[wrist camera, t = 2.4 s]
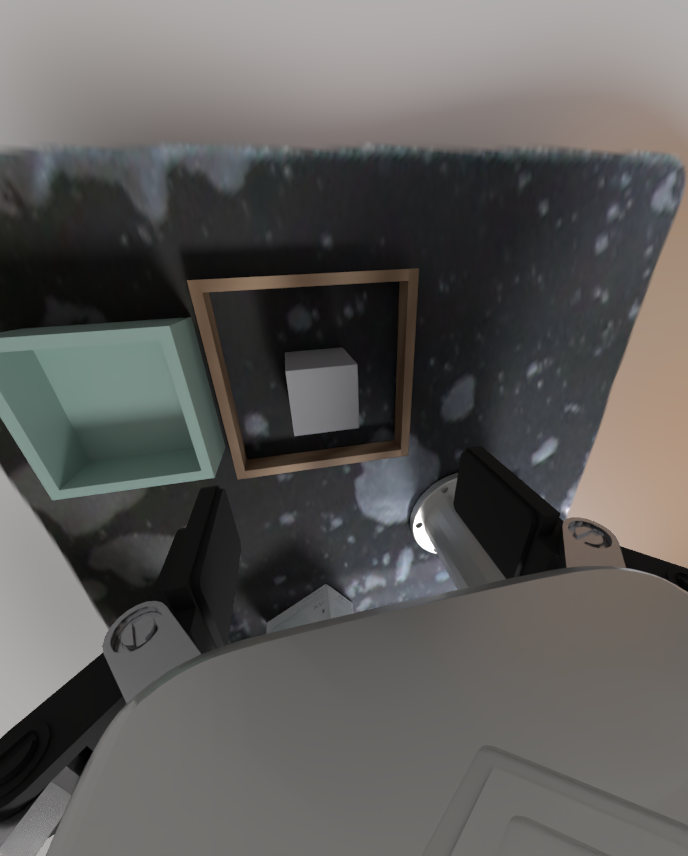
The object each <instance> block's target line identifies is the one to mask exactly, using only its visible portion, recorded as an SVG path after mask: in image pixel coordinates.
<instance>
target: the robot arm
mask: <svg viewBox="0 0 688 856" xmlns="http://www.w3.org/2000/svg"><path fill="white" fill-rule="evenodd" d="M559 516H560V513H559V512H558V511H557V510H556V509H554V508H553V507H552V506H551V505H550V504H549V503H547V502H546V501H545V500H544V499H543V498H542V497H540V496H539V495H538V494H537V493H536V492H534V491H533V490H532V489H531V488H530V487H529V486H527V485H526V484H525V483H524V482H523V481H522V480H520V479H519V478H518V477H517V476H516V475H514V474H513V473H512V472H511V471H510V470H509V469H507V468H506V467H505V466H504V465H503V464H502V463H500V462H499V461H498V460H497V459H496V458H494V457H493V456H492V455H491V454H490V453H489V452H487V451H486V450H485V449H484V448H482V447H472V448H467V449H465V451H464V452H463V453H462V454H461V458H460V465H459V471H458V473H455V474H452V475H449V476H447V477H445V478H443V479H441V480H439V481H438V482H436V483H435V484H433V485H432V486H431V487H430V488H428V489H427V490H426V491H425V492H424V493H423V494H422V496H421V497H420V498H419V499H418V501H417V502H416V504H415V506H414V508H413V510H412V513H411V517H410V529H411V532H412V534H413V537H414V538H415V540H416V542H417V544H419V545H420V546H421V547H422V548H423V549H425V550H427V551H428V552H431V553H435V554H438V556H439V558H440V560H441V561H442V563H443V565H444V567H445V569H446V570H447V572H448V574H449V576H450V578H451V579H452V581H453V583H454V585H455V586H456V588H457V590H455V591H451V592H446V593H442V594H437V595H433V596H428V597H424V598H419V599H415V600H410V601H406V602H401V603H397V604H392V605H388V606H384V607H379V608H375V609H370V610H366V611H362V612H357V613H353V614H349V615H344V616H340V617H336V618H331V619H327V620H323V621H318V622H314V623H310V624H305V625H301V626H297V627H293V628H289V629H285V630H281V631H276V632H272V633H268V634H264V635H260V636H256V637H252V638H248V639H245V640H242V641H238V642H235V643H232V644H228V639H229V632H230V624H231V617H232V610H233V603H234V595H235V588H236V581H237V574H238V567H239V559H240V552H241V543H240V539H239V535H238V532H237V528H236V525H235V521H234V518H233V515H232V511H231V508H230V504H229V501H228V497H227V494H226V491H225V489H220V488H219V486H212V487H205V488H201V489H200V491H199V494H198V497H197V500H196V502H195V505H194V508H193V511H192V513H191V516H190V519H189V521H188V524H187V527H186V528H182V529H179V530H178V531H177V533H176V535H175V537H174V540H173V543H172V545H171V548H170V550H169V553H168V555H167V558H166V560H165V563H164V565H163V568H162V570H161V573H160V575H159V578H158V580H157V583H156V585H155V588H154V590H153V593H152V595H151V598H150V600H149V601H148V602H144V603H141V604H139V605H136V606H134V607H133V608H131V609H129V610H128V611H126V612H125V613H124V614H123V615H122V616H120V617H119V618H118V619H117V620H116V621H115V623H114V624H113V625H112V626H111V627H110V629H109V631H108V632H107V634H106V636H105V639H104V643H103V653H102V654H101V655H100V656H98V657H97V658H96V659H95V660H94V661H92V662H91V663H90V664H89V665H88V666H86V667H85V668H84V669H83V670H82V671H80V672H79V673H78V674H77V675H76V676H74V677H73V678H72V679H71V680H70V681H68V682H67V683H66V684H65V685H64V686H62V687H61V688H60V689H59V690H58V691H56V692H55V693H54V694H53V695H52V696H51V697H49V698H48V699H47V700H46V701H45V702H43V703H42V704H41V705H40V706H38V707H37V708H36V709H35V710H34V711H32V712H31V713H30V714H29V715H28V716H26V718H24V719H23V720H22V721H20V722H19V723H18V724H17V725H15V726H14V727H13V728H12V729H11V730H9V731H8V732H7V733H6V734H5V735H4V736H3V737H2V738H1V739H0V856H35V855H36V854H37V852H38V851H39V850H40V848H41V847H42V845H43V844H44V842H45V841H46V840H47V838H49V837H51V836H52V835H54V834H55V835H54V837H53V840H52V842H51V845H50V847H49V849H48V852H47V854H46V856H688V569H687V568H684V567H681V566H678V565H675V564H672V563H669V562H666V561H663V560H660V559H657V558H654V557H651V556H648V555H645V554H642V553H639V552H636V551H633V550H630V549H627V548H624V547H621V546H620V545H619V542H618V540H617V538H616V537H615V535H614V534H613V533H611V531H609V530H608V529H607V528H605V527H604V526H602V525H600V524H598V523H596V522H594V521H591V520H588V519H583V518H569V519H566V520H565V521H562V520H561V519H560V518H559ZM227 644H228V645H227Z"/></svg>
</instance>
